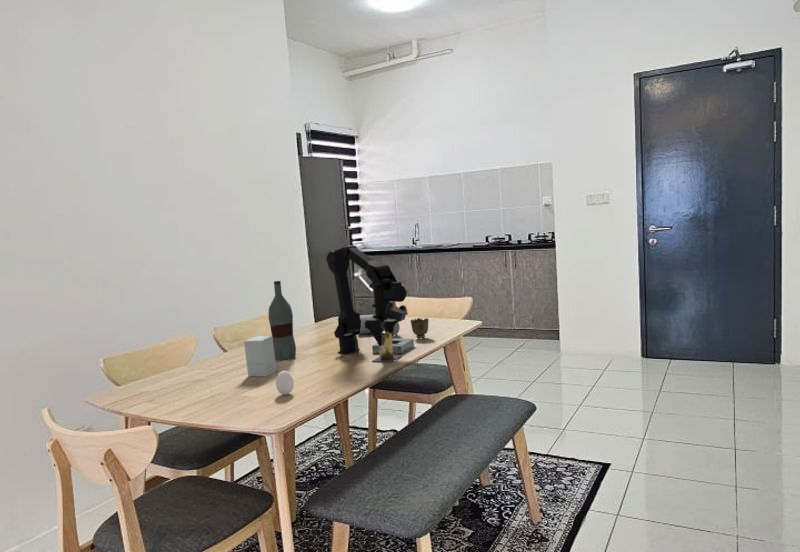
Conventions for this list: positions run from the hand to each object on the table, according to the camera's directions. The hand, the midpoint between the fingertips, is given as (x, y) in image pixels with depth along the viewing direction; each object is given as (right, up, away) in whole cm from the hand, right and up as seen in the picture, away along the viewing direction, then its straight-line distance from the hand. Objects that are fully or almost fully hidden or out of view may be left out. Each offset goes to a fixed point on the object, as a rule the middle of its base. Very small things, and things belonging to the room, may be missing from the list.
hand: (385, 343), depth 206 cm
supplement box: (-43, -10, -5) cm, 44 cm away
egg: (-29, -12, -33) cm, 45 cm away
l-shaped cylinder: (-4, -2, +46) cm, 47 cm away
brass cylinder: (0, -6, 0) cm, 6 cm away
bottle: (-39, -8, +15) cm, 43 cm away
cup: (+14, -2, +32) cm, 35 cm away
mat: (0, -6, +1) cm, 6 cm away
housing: (+3, -4, +15) cm, 16 cm away
